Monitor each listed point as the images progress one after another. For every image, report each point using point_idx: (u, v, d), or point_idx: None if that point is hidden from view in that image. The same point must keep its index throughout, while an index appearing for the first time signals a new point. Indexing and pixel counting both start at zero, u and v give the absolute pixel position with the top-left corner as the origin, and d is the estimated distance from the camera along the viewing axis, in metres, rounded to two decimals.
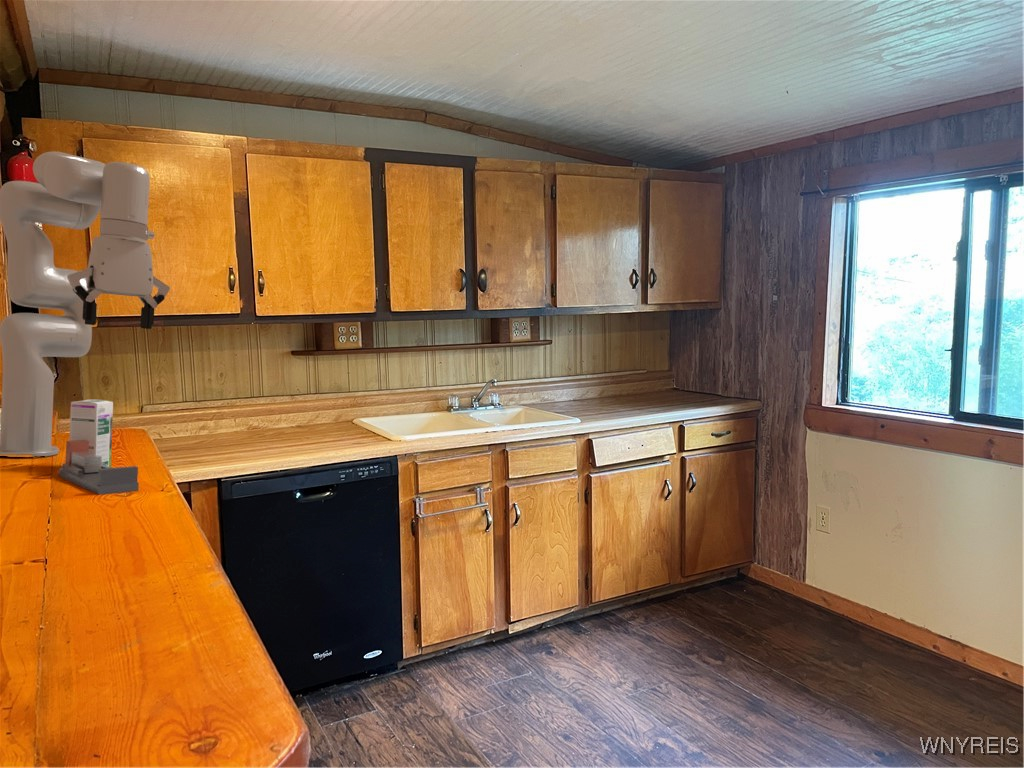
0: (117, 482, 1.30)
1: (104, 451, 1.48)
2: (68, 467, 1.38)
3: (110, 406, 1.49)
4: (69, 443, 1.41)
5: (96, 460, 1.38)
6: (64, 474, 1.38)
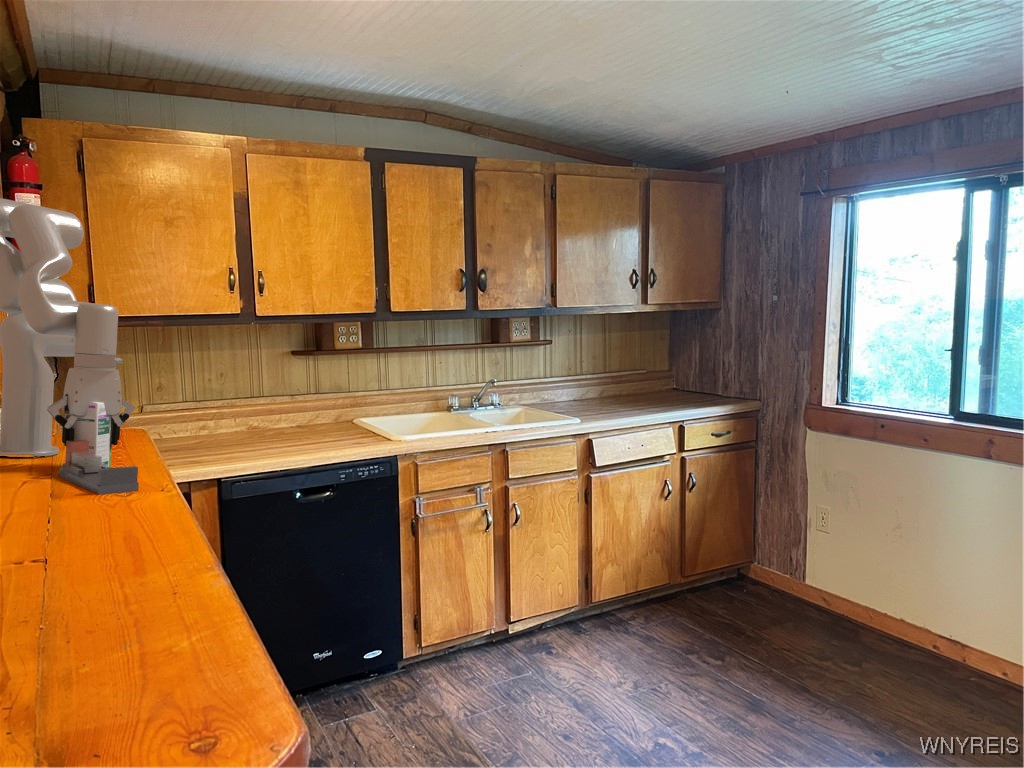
0: (117, 482, 1.30)
1: (104, 451, 1.48)
2: (68, 467, 1.38)
3: None
4: (69, 443, 1.41)
5: (96, 460, 1.38)
6: (64, 474, 1.38)
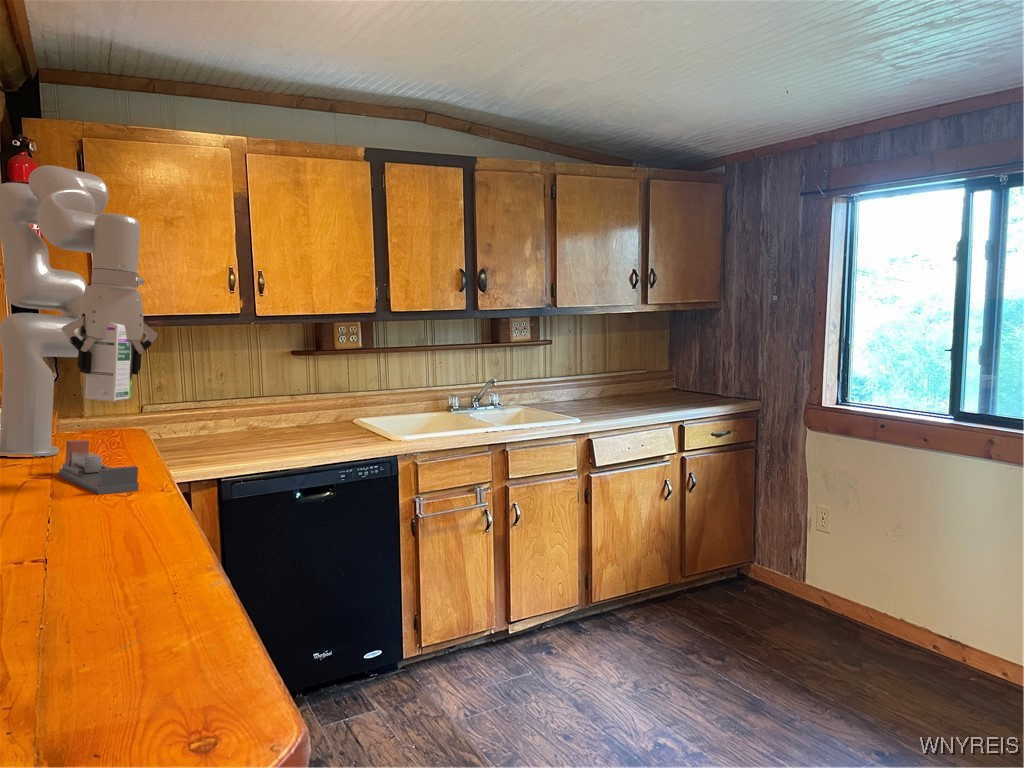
0: (117, 482, 1.30)
1: (124, 379, 1.33)
2: (68, 467, 1.38)
3: None
4: (69, 443, 1.41)
5: (96, 460, 1.38)
6: (64, 474, 1.38)
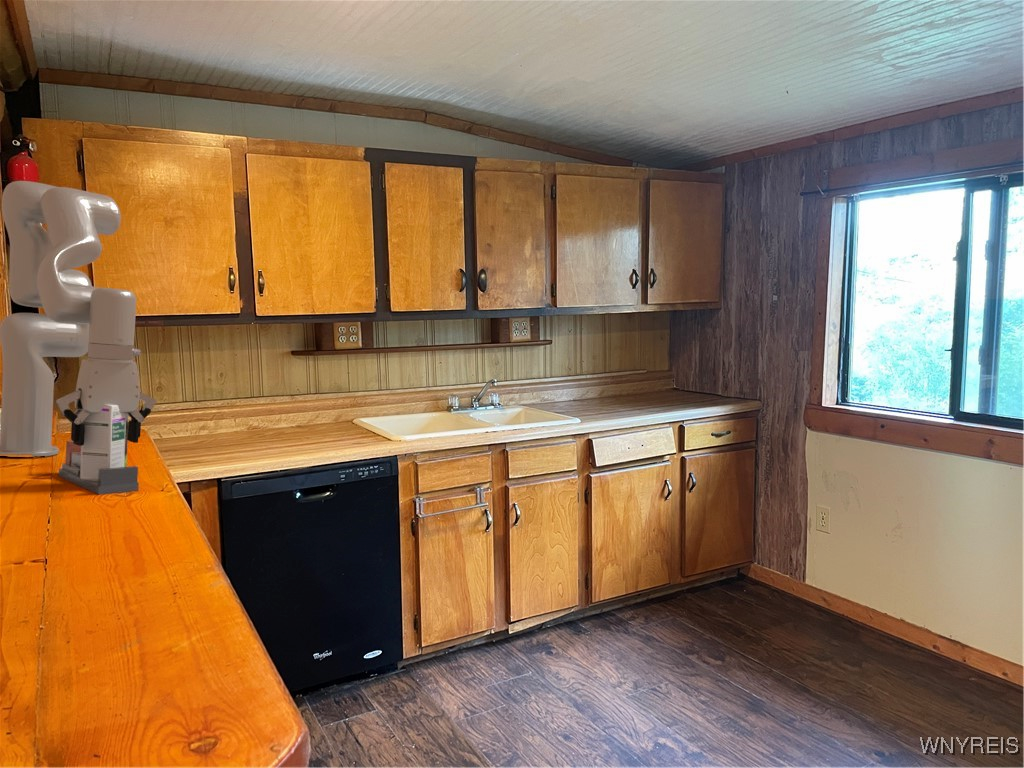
0: (117, 482, 1.30)
1: (118, 458, 1.34)
2: (68, 467, 1.38)
3: None
4: (69, 443, 1.41)
5: None
6: (64, 474, 1.38)
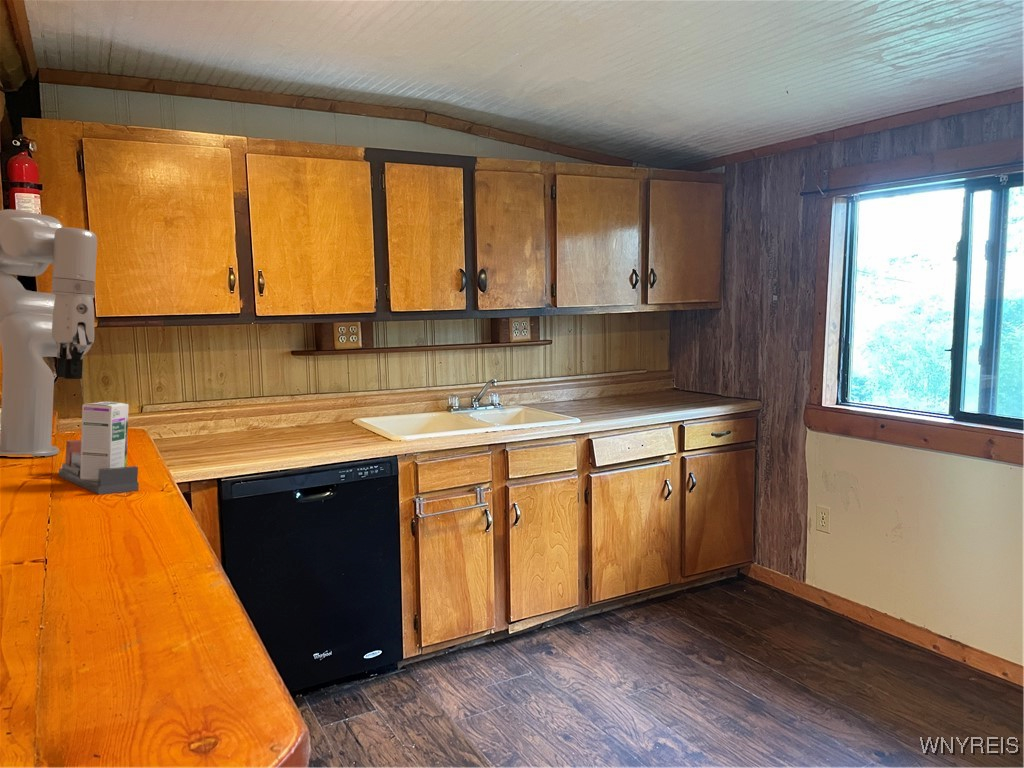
0: (117, 482, 1.30)
1: (118, 458, 1.34)
2: (68, 467, 1.38)
3: (126, 409, 1.35)
4: (69, 443, 1.41)
5: None
6: (64, 474, 1.38)
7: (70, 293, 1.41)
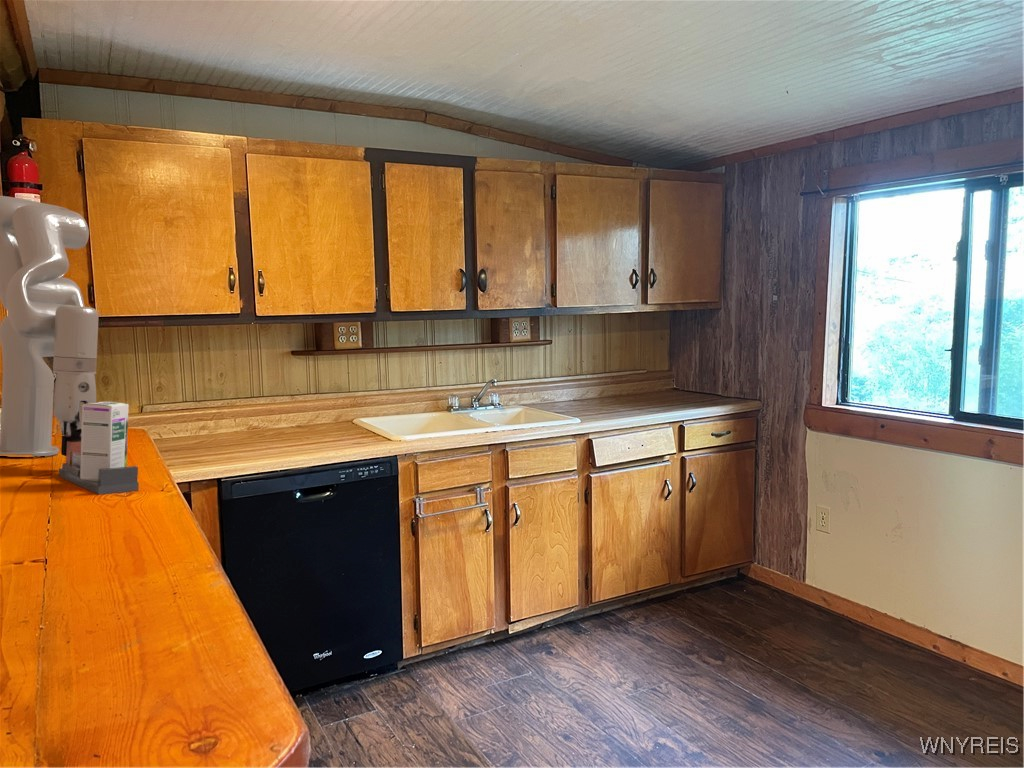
0: (117, 482, 1.30)
1: (118, 458, 1.34)
2: (68, 467, 1.38)
3: (126, 409, 1.35)
4: (70, 443, 1.41)
5: None
6: (64, 474, 1.38)
7: (72, 372, 1.40)
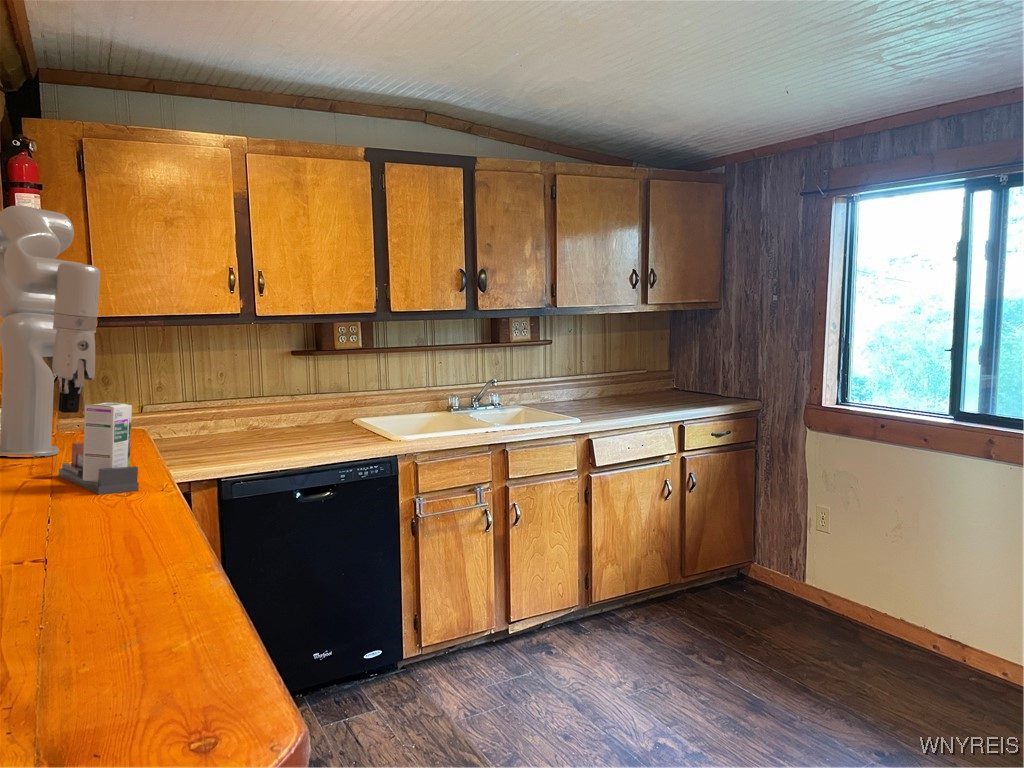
0: (117, 482, 1.30)
1: (121, 460, 1.33)
2: (68, 467, 1.38)
3: (129, 410, 1.34)
4: (75, 445, 1.39)
5: None
6: (64, 474, 1.38)
7: (71, 330, 1.40)
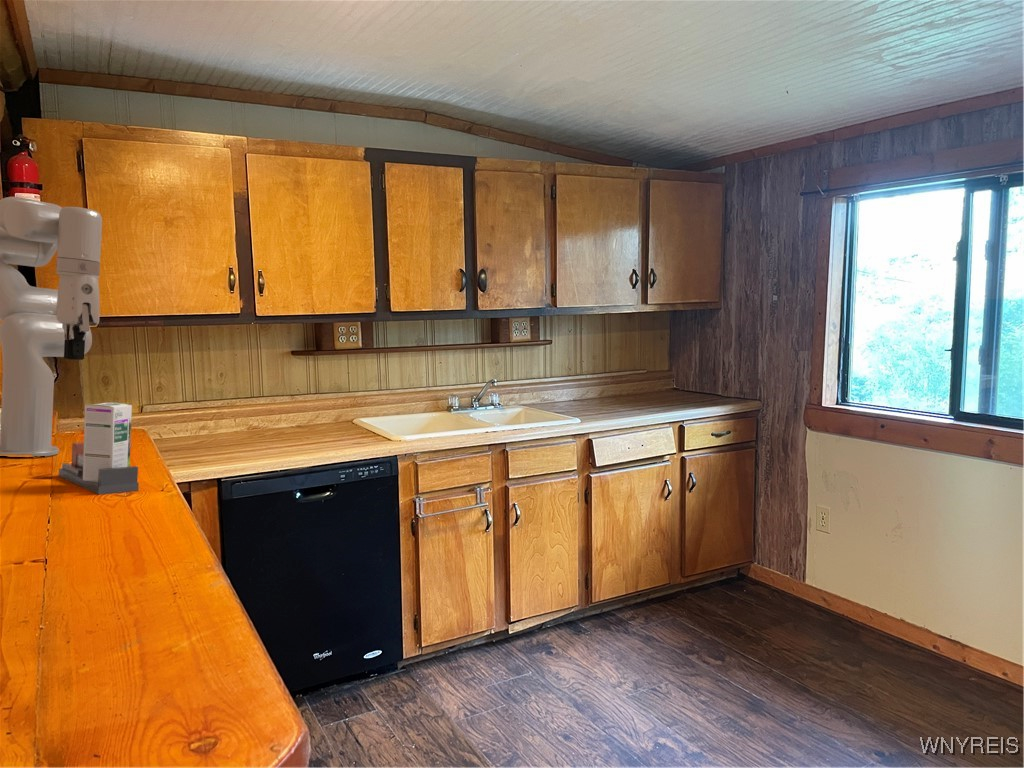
0: (117, 482, 1.30)
1: (121, 460, 1.33)
2: (68, 467, 1.38)
3: (129, 410, 1.34)
4: (75, 445, 1.39)
5: None
6: (64, 474, 1.38)
7: (75, 273, 1.40)
